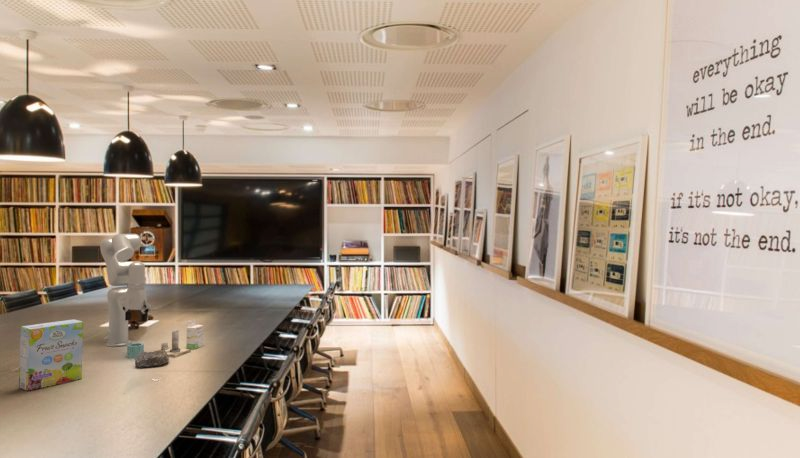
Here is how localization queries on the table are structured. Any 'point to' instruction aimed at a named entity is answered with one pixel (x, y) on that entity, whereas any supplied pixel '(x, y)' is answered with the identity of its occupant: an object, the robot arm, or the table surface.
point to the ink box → (194, 335)
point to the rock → (151, 358)
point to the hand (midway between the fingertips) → (136, 320)
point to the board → (182, 351)
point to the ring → (134, 350)
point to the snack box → (50, 354)
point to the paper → (156, 379)
